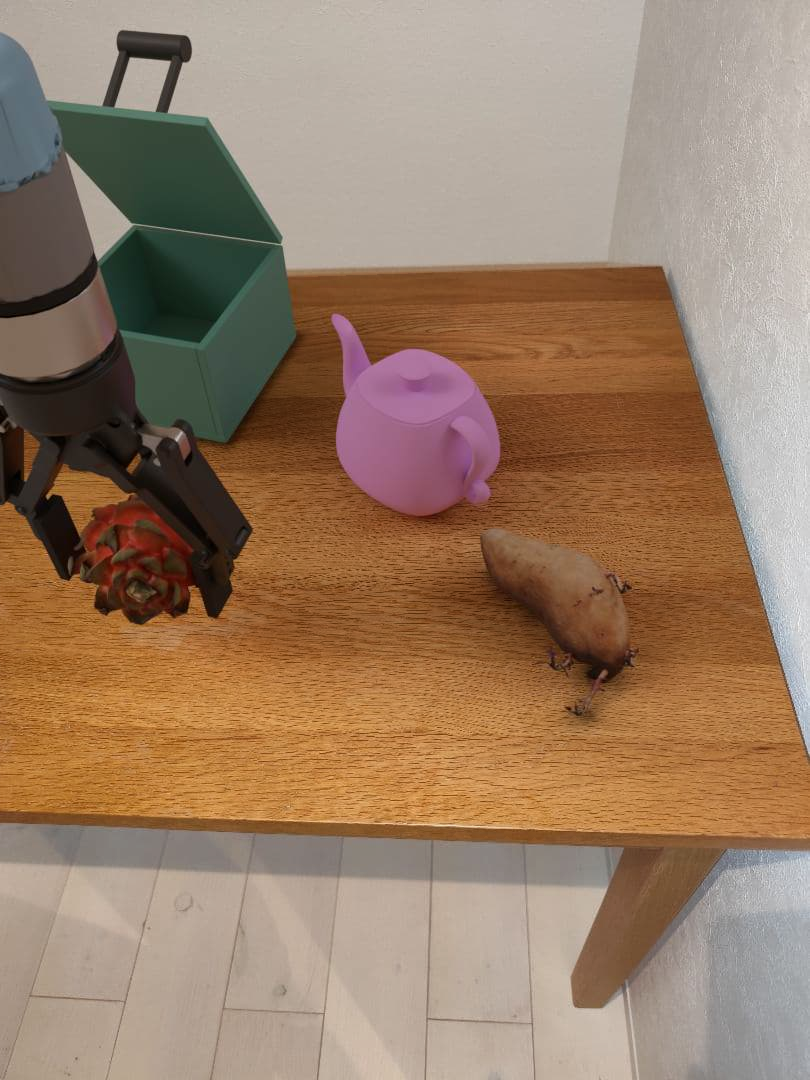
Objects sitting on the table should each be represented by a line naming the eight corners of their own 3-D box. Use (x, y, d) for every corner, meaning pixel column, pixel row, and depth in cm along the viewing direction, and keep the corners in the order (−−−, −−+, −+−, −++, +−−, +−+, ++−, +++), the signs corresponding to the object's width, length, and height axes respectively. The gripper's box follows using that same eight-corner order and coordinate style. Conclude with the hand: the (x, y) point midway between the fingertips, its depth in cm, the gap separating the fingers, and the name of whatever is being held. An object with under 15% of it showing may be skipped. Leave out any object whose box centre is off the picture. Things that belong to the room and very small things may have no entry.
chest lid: (204, 126, 69) (236, 20, 71) (22, 106, 73) (55, 6, 74) (281, 244, 87) (305, 158, 88) (131, 223, 91) (156, 141, 92)
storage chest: (226, 443, 85) (203, 349, 77) (74, 413, 88) (37, 321, 80) (296, 336, 96) (282, 245, 88) (158, 314, 99) (133, 224, 91)
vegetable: (402, 593, 68) (453, 485, 63) (487, 569, 76) (538, 471, 71) (556, 736, 60) (628, 626, 56) (632, 692, 69) (700, 592, 64)
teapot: (540, 486, 79) (552, 381, 71) (428, 564, 74) (426, 459, 65) (394, 383, 90) (389, 280, 81) (287, 445, 84) (268, 341, 75)
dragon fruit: (186, 665, 64) (124, 578, 72) (254, 570, 63) (184, 492, 71) (86, 635, 57) (30, 543, 65) (161, 529, 57) (95, 448, 64)
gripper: (274, 339, 50) (313, 582, 66) (-82, 276, 55) (35, 516, 71) (216, 425, 45) (273, 664, 62) (-168, 347, 50) (-21, 586, 67)
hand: (146, 584), depth 66 cm, fingers closed on dragon fruit, 11 cm apart
